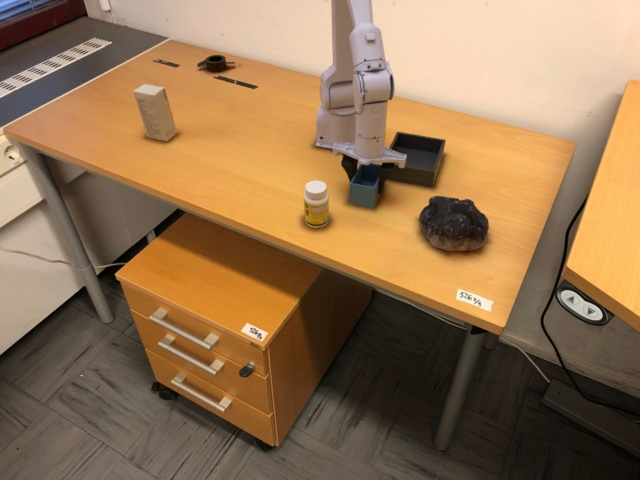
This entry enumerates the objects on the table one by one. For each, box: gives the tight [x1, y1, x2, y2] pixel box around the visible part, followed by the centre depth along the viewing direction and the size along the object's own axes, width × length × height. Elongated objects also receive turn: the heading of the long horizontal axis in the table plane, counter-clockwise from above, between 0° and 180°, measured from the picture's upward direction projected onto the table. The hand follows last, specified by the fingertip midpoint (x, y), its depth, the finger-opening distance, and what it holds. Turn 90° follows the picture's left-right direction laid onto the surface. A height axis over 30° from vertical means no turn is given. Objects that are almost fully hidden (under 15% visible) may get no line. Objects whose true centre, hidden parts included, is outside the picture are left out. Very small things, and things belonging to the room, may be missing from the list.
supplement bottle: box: [303, 180, 330, 229], centre depth 99 cm, size 5×5×8 cm
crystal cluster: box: [418, 195, 490, 252], centre depth 96 cm, size 13×14×10 cm
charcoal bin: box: [387, 131, 447, 188], centre depth 114 cm, size 11×13×4 cm
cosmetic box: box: [132, 83, 178, 142], centre depth 122 cm, size 6×4×12 cm
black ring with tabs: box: [197, 54, 236, 74], centre depth 153 cm, size 8×10×3 cm
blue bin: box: [348, 163, 382, 209], centre depth 106 cm, size 8×5×5 cm, turn 160°
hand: (367, 188), depth 107 cm, fingers closed on blue bin, 5 cm apart
